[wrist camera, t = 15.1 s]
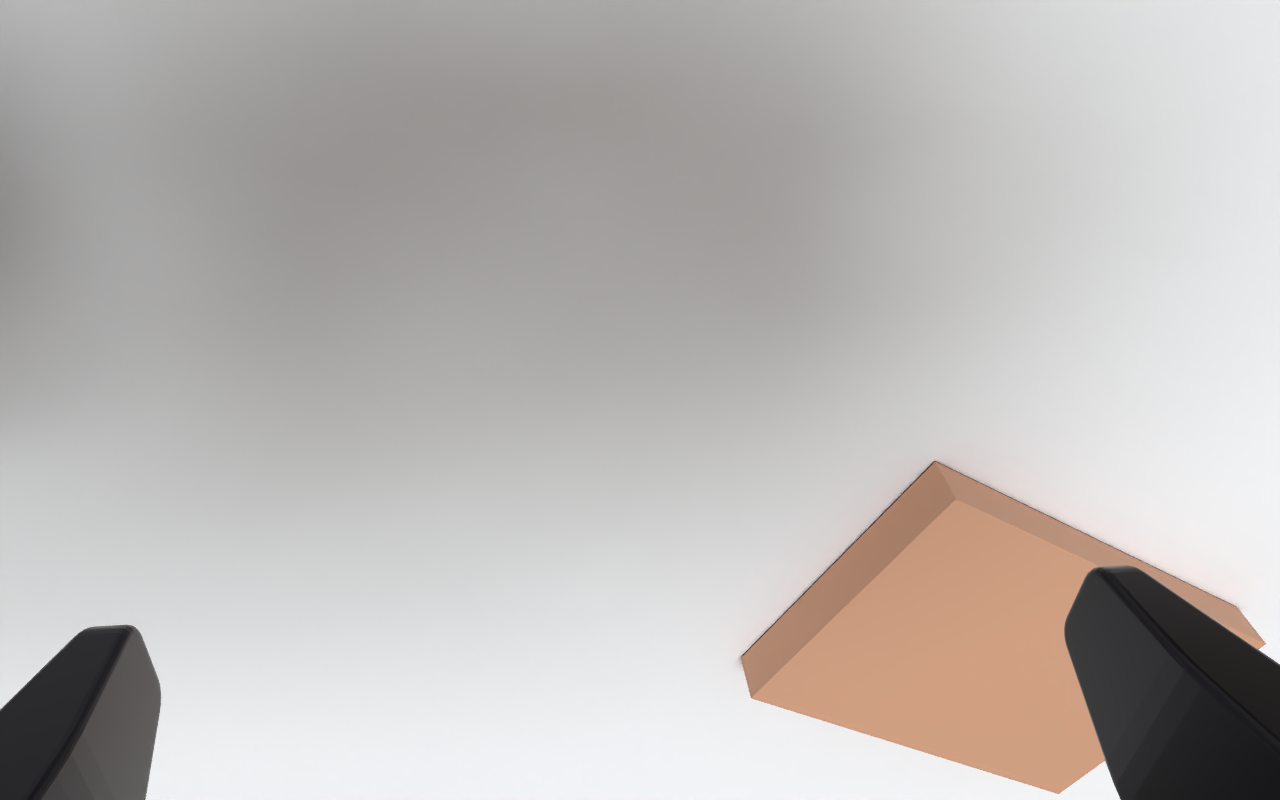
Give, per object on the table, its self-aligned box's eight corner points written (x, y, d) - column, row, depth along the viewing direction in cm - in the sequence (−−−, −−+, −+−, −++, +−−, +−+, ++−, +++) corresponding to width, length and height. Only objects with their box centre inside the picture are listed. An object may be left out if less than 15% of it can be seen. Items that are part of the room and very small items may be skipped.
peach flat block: (740, 657, 31) (750, 698, 30) (935, 461, 27) (956, 498, 26) (1039, 757, 37) (1058, 794, 35) (1237, 607, 32) (1266, 643, 31)
